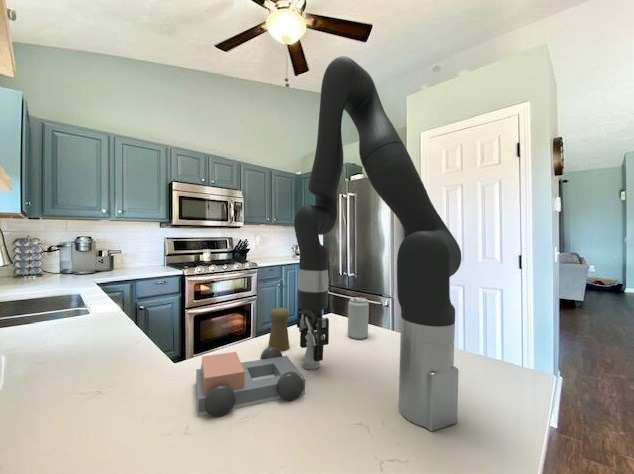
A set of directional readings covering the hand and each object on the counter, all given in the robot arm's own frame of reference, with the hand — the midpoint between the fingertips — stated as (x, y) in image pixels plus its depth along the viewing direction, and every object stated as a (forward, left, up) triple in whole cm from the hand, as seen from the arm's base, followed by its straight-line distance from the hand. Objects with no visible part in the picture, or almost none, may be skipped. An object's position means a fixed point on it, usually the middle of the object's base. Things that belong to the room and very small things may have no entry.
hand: (310, 353), depth 72 cm
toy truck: (-5, +16, -3) cm, 17 cm away
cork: (+14, +4, -3) cm, 15 cm away
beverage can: (+14, -22, -3) cm, 26 cm away
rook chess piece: (0, 0, -3) cm, 3 cm away
